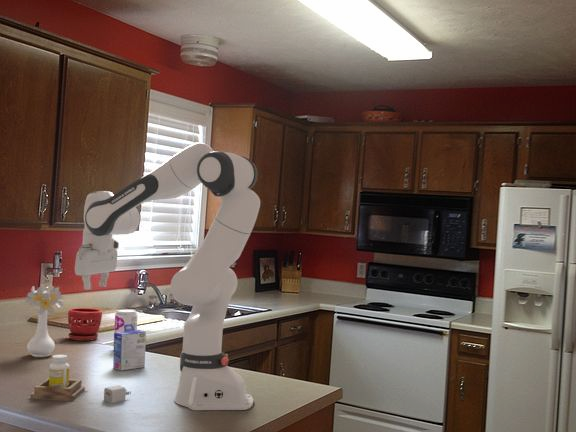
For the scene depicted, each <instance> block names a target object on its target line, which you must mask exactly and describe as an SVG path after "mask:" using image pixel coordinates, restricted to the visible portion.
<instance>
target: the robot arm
mask: <svg viewBox="0 0 576 432" xmlns="http://www.w3.org/2000/svg"><path fill="white" fill-rule="evenodd" d="M258 173H259V172H258V168H257V166H256V164H255V163H254V162H253V161H252V160H251V159H249V158H247V157H245V156H240V155H238V154H236V153H234V152H233V153H232V152H227V151H220V150H217V151H214V149H213V148H212V147H211V146H210V145H209V144H206V143H204V142H196V143H193V144H191V145H189V146H187V147H185V148H183V149H182V150H180V151H179V152H178V151H177V153H176V154H174V155H173V156H172V157H170V158H169V159H167V160H166V161H165V162H163V163H162V164H161V165H159V166H158V167H156V168H155V169H154V170H152V171H151V172H149V173H147V174H145V175H144V176H141V177H140V178H138V179H136V180H135V181H133V182H131V183H130V184H129V185H127V186H125V187H124V188H122V189H121V190H119V191H118V192H116V193H115V194H113V192H111V191H107V190H101V191H98V190H97V191H93V192H90V193H89V194H87V196H86V197H85V198H86V199H85V203H84V209H83V222H84V227H83V231H82V244H81V246H80V247H79V250H78V251H76V252H77V253H76V256H75V263H74V273H75V275H76V276H81V279H82V282H83V289H84V290H87V291H89V290H92V288H93V287H92V286H93V285H92V283H91V278H92V276H91V275H97V274H100V276H101V277H100V280H99V281H98V286H99V287H101V288H102V287H107V281H108V278H109V276H110V273H113V272H115V271H116V269H117V263H118V249H119V245H120V243H119V241H118V240H115V238H113V236H114V235H115V236H117V235H128V234H133V233H135V232H136V231H137V230H138V228H139V227H140V224H141V215H140V211H139V209H138V208H137V207H138V206H140V205H142V204H144V203H147V202H151V201H157V200H158V201H159V200H170V199H177V198H180V197H182V196H184V195H186V194H188V193H190V192H191V191H192V190H194V189H195V188H196V187H198V186H199V185H200V184H202V185H203V186H204V187H206V188H207V189H208V190H209V191H210V192H211V193H212V195H213V196H215V197H216V198H217V197H220V200H221V201H220V204H219V205H220V206H219V207H218V209H217V212H216V214H215V216H214V218H213V221H212V222H211V225H210V227H209V229H208V230H207V233H206V236H205V238H204V239H203V241H202V242H201V244H200V245H199V247H198V248H197V250H196V251H195V252H194V254H193V255H192V256H191V257H190V259H189V260H188V262H187V263H186V264H185V265H184V266H183V267H182V268H181V269H179V271H177V272H176V273H175V274H174V275H173V277H172V279H171V282H170V285H169V286H170V293H171V295H172V297H173V299H174V300H175V301H176V302H177V303H179V304H181V305H186V306H191V307H192V309H191V311H190V313H189V316H188V318H187V319H186V320H185V322H184V325H183V335H182V338H183V339H182V350H181V352H180V356H179V357H180V358H179V359H180V360H179V371H180V376H179V381H178V387H177V390H176V394H175V397H174V401H173V402H175V403H176V404H178V405H179V406H183V407H186V408H187V409H190V410H192V411H246V410H249V409H251V408H252V407H253V405H254V398H253V396H252V395H251V394H249V393H247V387H246V383H245V380H244V378H242V377H241V375H239V374H238V373H237V372H235V371H234V370H233V369H232V368H231V367H229V366H228V365H229V361H230V360H229V355H228V353H224V352H223V351H222V345H223V331H224V323H225V318H226V314H227V311H228V307H229V304H230V302H231V298H232V296H233V295H234V294H235V292H236V290H237V288H238V277H237V274H236V273H235V271H234V270H233V269H232V268H230V267H231V266H232V265H233V264H234V263H235V262H236V261H237V260H238V259H239V258H240V257H241V255H242V252H243V251H244V248H245V246H246V245H247V242H248V240H249V238H250V236H251V233H252V231H253V229H254V226H255V224H256V221H257V218H258V216H259V212H260V207H261V199H260V197H259V195H258V194H257V193H256V192H255V191H254V190H252V188H253V187H254V186H255V185H256V183H257V181H258Z"/></svg>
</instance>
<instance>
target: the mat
mask: <svg viewBox="0 0 576 432" xmlns="http://www.w3.org/2000/svg"><path fill="white" fill-rule="evenodd" d="M88 392H89V390H85V391H84V392H83V393H82V394H80V395H79V396H78V397H77V398H76V399H75V400H60V401H64V402H78V401H79V400H80V399H81V398H82V397H83V396H85V394H87V393H88ZM30 396H31V394H29V396H28V397H26V399H27V400H38V399H37V398H30ZM41 400H43V401H44V400H45V401H47V400H49V401H57V400H56V399H41Z"/></svg>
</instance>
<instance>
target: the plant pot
mask: <svg viewBox="0 0 576 432" xmlns="http://www.w3.org/2000/svg"><path fill="white" fill-rule="evenodd" d="M102 318H103V310H102V309H99V308H87V307H77V308H75V307H74V308H69V309H68V314H67V326H68V329H69V333H68V337H69V338H70V339H71V340H74V341H93V340H96V339H97V338H98V337H99V334H98V331H99V329H100V327H101V323H102Z"/></svg>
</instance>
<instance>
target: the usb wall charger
mask: <svg viewBox="0 0 576 432" xmlns="http://www.w3.org/2000/svg"><path fill="white" fill-rule="evenodd" d="M127 390H128V389H126V387H125V386H122V385H114V386H109V387H105V388H104V390H103V401H105V402H108V403H111V404H113V403H119V402H124V401H126V396H127V395H128V396H129V395H132V391H127Z"/></svg>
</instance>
